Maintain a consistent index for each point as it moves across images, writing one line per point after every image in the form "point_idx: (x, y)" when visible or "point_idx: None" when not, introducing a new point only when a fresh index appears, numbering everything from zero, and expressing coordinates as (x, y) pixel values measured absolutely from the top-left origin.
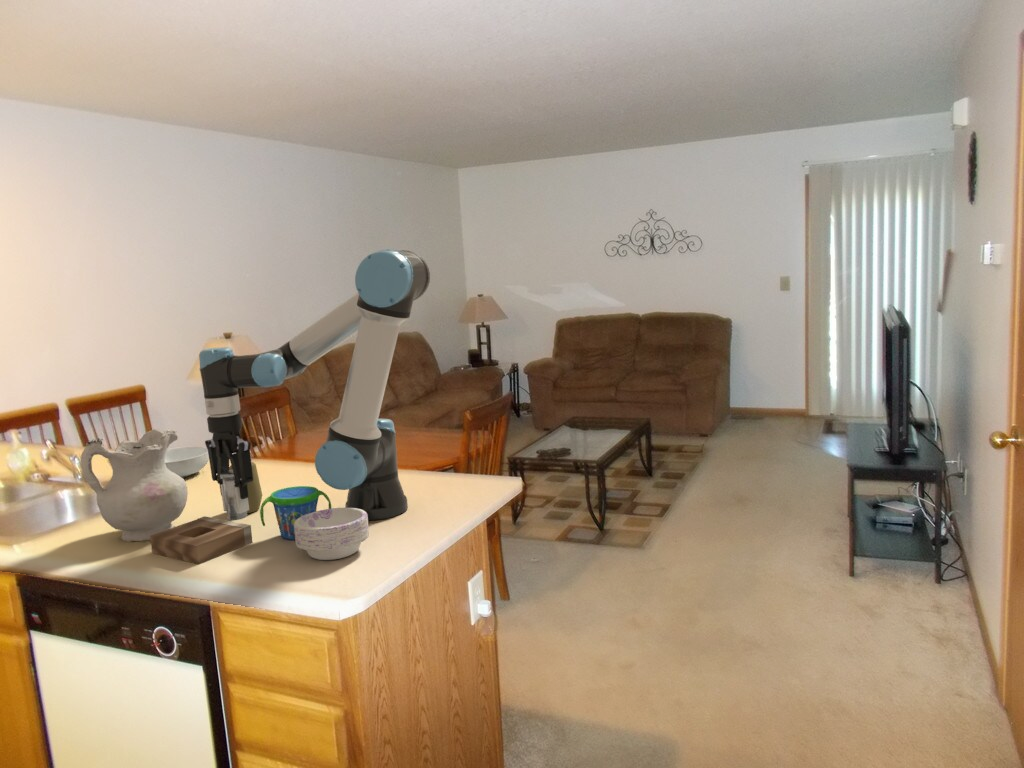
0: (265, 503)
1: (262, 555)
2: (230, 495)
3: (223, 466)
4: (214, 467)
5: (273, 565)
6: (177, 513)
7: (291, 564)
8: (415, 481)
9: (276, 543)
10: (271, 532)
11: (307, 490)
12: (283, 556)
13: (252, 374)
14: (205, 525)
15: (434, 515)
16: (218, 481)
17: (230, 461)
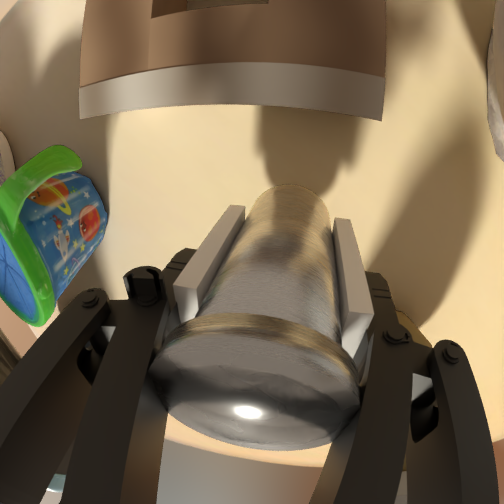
0: (5, 183)
1: (50, 78)
2: (250, 241)
3: (333, 474)
4: (450, 445)
5: (17, 69)
6: (500, 98)
7: (5, 93)
8: (182, 432)
9: (74, 142)
10: (144, 199)
11: (16, 300)
12: (25, 104)
13: None
14: (248, 19)
15: (46, 327)
16: (394, 334)
17: (119, 496)
